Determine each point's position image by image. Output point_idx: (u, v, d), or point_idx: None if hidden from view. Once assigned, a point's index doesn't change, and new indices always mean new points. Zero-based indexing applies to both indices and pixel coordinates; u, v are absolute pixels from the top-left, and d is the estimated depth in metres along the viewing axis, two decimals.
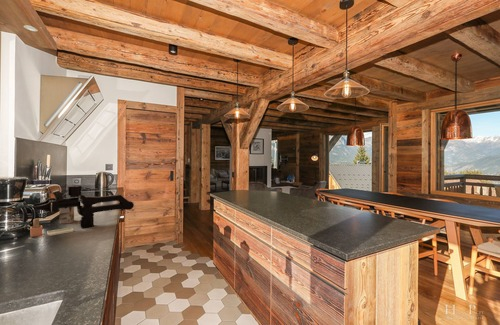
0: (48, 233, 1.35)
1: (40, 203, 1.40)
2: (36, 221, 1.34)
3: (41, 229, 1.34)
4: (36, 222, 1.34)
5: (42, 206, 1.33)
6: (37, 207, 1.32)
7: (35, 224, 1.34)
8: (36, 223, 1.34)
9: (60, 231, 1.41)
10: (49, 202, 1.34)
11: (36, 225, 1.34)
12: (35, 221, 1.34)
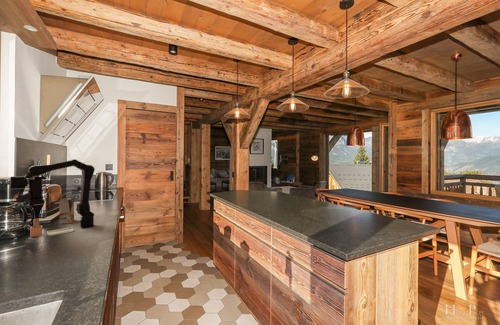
0: (48, 233, 1.35)
1: None
2: (36, 221, 1.34)
3: (41, 229, 1.34)
4: (36, 222, 1.34)
5: (35, 210, 1.30)
6: (36, 214, 1.31)
7: (35, 224, 1.34)
8: (36, 223, 1.34)
9: (60, 231, 1.41)
10: (30, 206, 1.28)
11: (36, 225, 1.34)
12: (35, 221, 1.34)
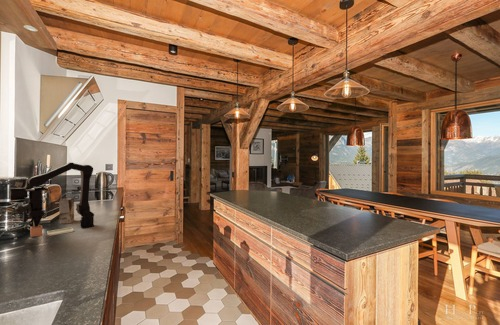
0: (48, 233, 1.35)
1: None
2: None
3: (41, 229, 1.34)
4: None
5: (35, 221, 1.33)
6: (36, 224, 1.33)
7: None
8: None
9: (60, 231, 1.41)
10: (30, 216, 1.30)
11: None
12: None
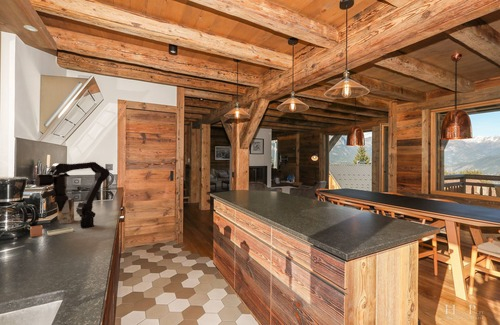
0: (48, 233, 1.35)
1: None
2: None
3: (41, 229, 1.34)
4: None
5: (59, 206, 1.38)
6: (60, 209, 1.38)
7: None
8: None
9: (60, 231, 1.41)
10: (55, 201, 1.35)
11: None
12: None
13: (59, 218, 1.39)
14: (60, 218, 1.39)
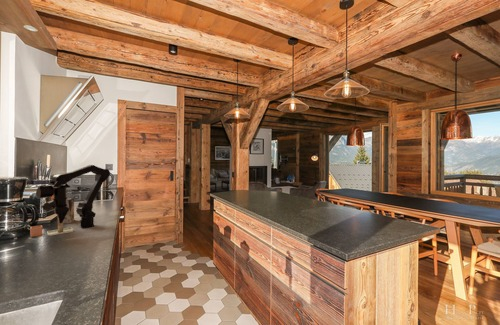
0: (48, 233, 1.35)
1: (58, 216, 1.41)
2: None
3: (41, 229, 1.34)
4: None
5: (60, 217, 1.37)
6: (61, 220, 1.38)
7: (59, 222, 1.39)
8: None
9: None
10: (55, 213, 1.34)
11: (60, 223, 1.39)
12: None
13: (59, 231, 1.39)
14: (60, 231, 1.39)
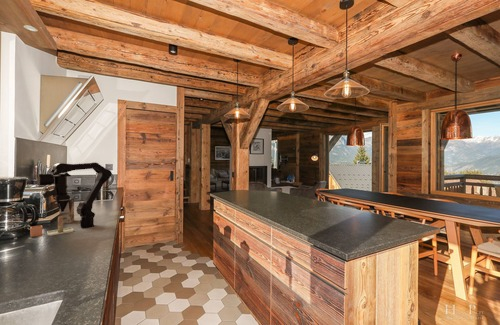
0: (48, 233, 1.35)
1: (58, 204, 1.44)
2: (60, 219, 1.39)
3: (41, 229, 1.34)
4: (60, 220, 1.39)
5: (61, 206, 1.37)
6: (62, 209, 1.38)
7: (59, 222, 1.39)
8: (60, 221, 1.39)
9: None
10: (57, 201, 1.35)
11: (60, 223, 1.39)
12: (59, 219, 1.39)
13: (59, 231, 1.39)
14: (60, 231, 1.39)
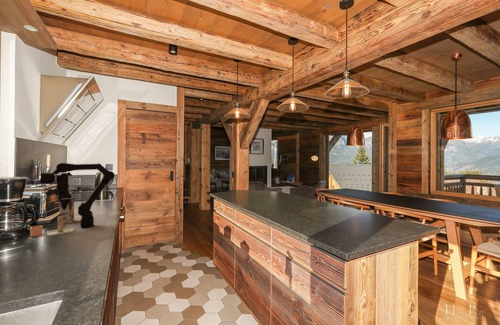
0: (48, 233, 1.35)
1: (60, 202, 1.49)
2: (60, 219, 1.39)
3: (41, 229, 1.34)
4: (60, 220, 1.39)
5: (63, 204, 1.41)
6: (64, 207, 1.42)
7: (59, 222, 1.39)
8: (60, 221, 1.39)
9: None
10: (59, 200, 1.39)
11: (60, 223, 1.39)
12: (59, 219, 1.39)
13: (59, 231, 1.39)
14: (60, 231, 1.39)
